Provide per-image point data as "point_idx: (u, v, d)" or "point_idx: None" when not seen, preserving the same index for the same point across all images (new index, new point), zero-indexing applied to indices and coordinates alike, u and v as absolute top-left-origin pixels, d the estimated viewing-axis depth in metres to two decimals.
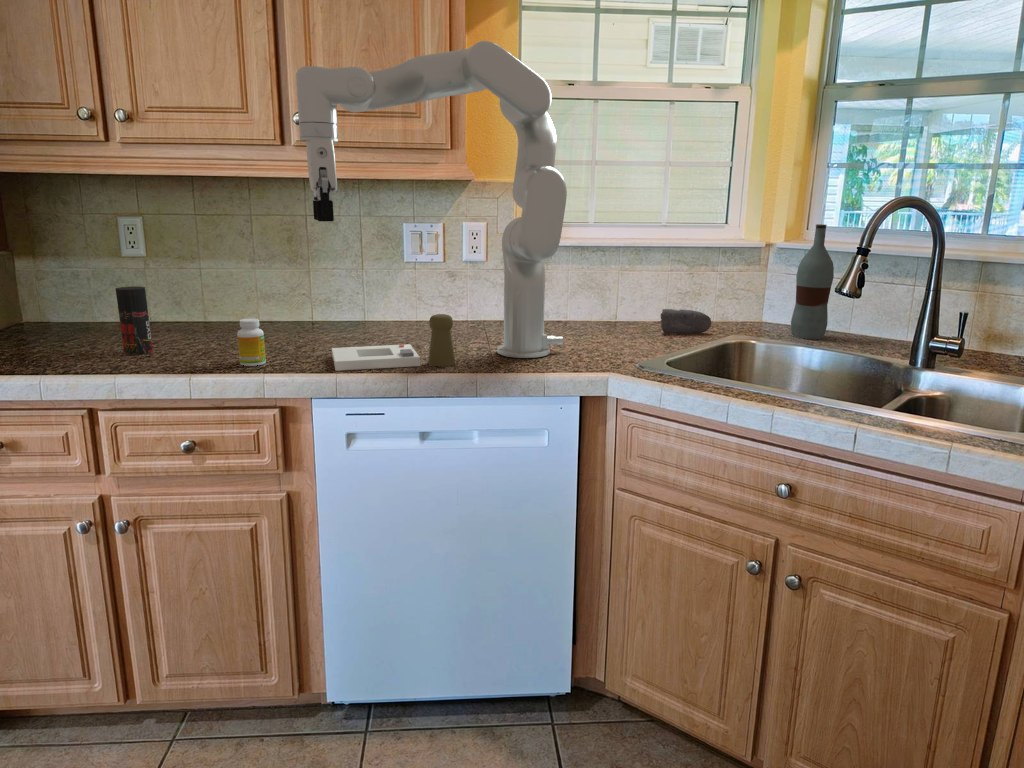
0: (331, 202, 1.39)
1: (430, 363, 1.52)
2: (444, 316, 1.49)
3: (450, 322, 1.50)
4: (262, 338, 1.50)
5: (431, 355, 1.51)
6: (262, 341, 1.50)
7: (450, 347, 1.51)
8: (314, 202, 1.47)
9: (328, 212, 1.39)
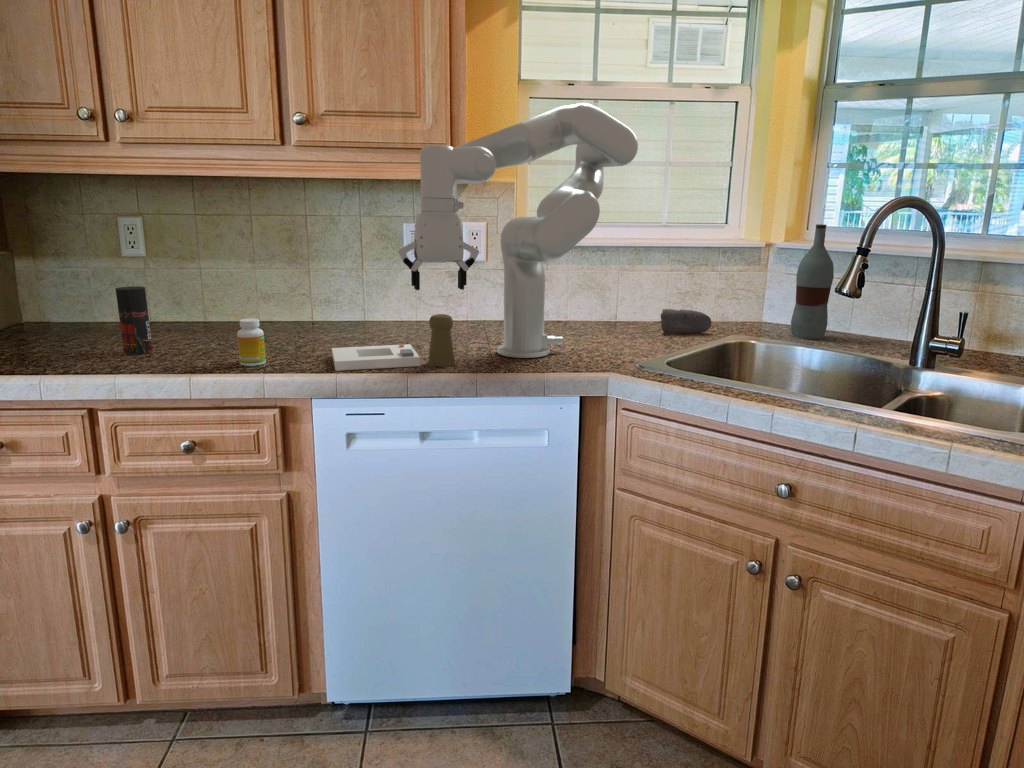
0: None
1: (430, 363, 1.52)
2: (444, 316, 1.49)
3: (450, 322, 1.50)
4: (262, 338, 1.50)
5: (431, 355, 1.51)
6: (262, 341, 1.50)
7: (450, 347, 1.51)
8: (419, 273, 1.46)
9: None
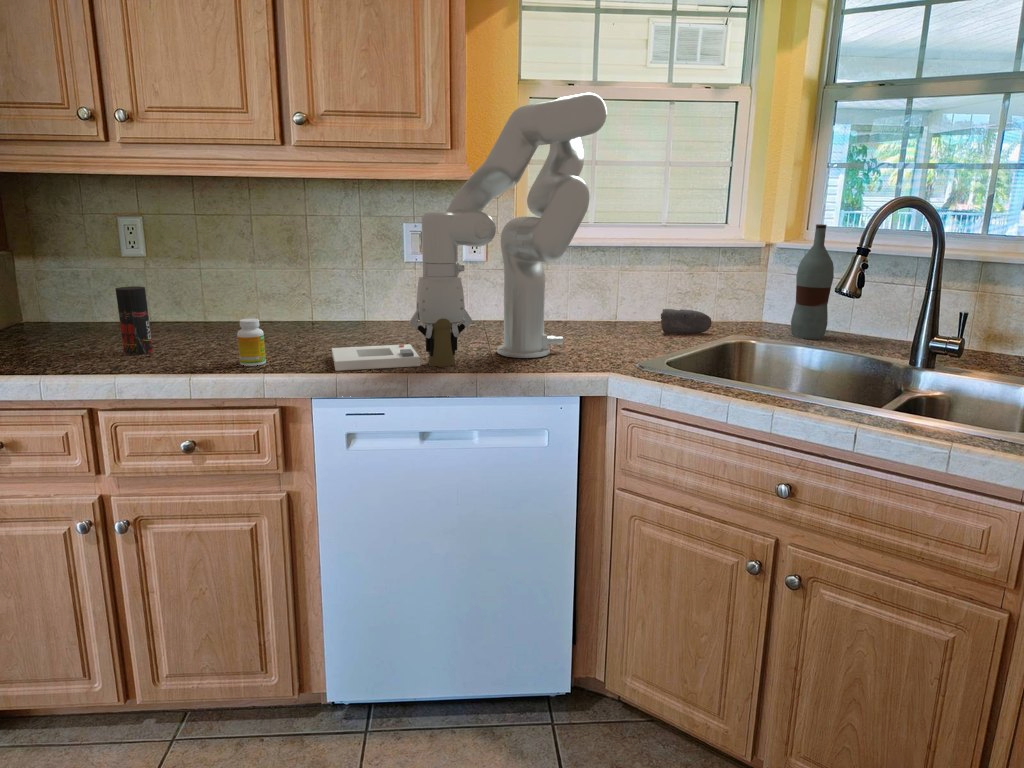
0: None
1: (430, 363, 1.52)
2: None
3: None
4: (262, 338, 1.50)
5: None
6: (262, 341, 1.50)
7: (450, 347, 1.51)
8: (433, 339, 1.50)
9: None
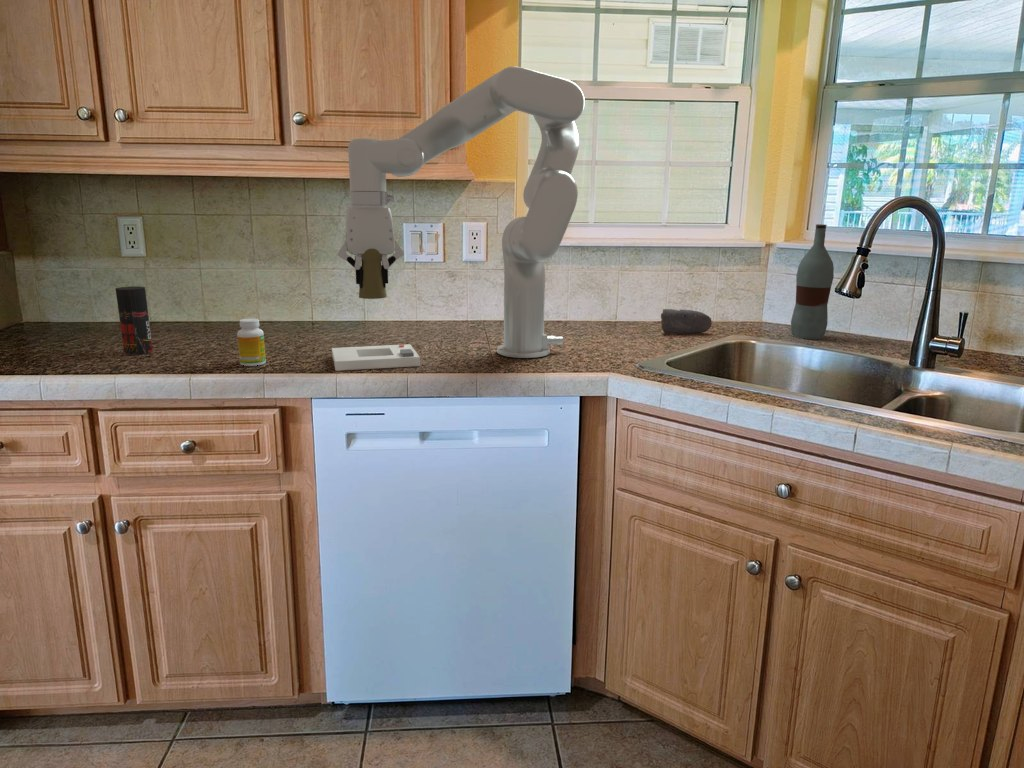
0: None
1: (360, 295, 1.49)
2: None
3: (379, 253, 1.48)
4: (262, 338, 1.50)
5: None
6: (262, 341, 1.50)
7: (380, 279, 1.49)
8: (362, 271, 1.48)
9: None
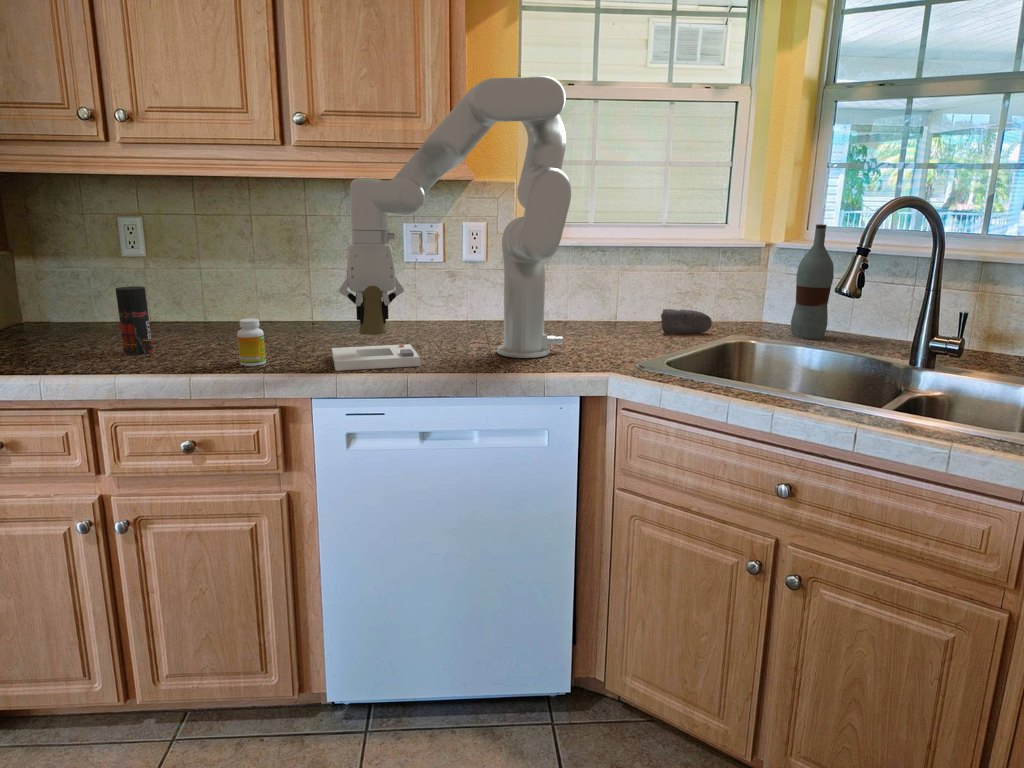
0: None
1: (361, 331, 1.51)
2: None
3: (380, 290, 1.50)
4: (262, 338, 1.50)
5: None
6: (262, 341, 1.50)
7: (381, 315, 1.51)
8: (363, 307, 1.50)
9: None
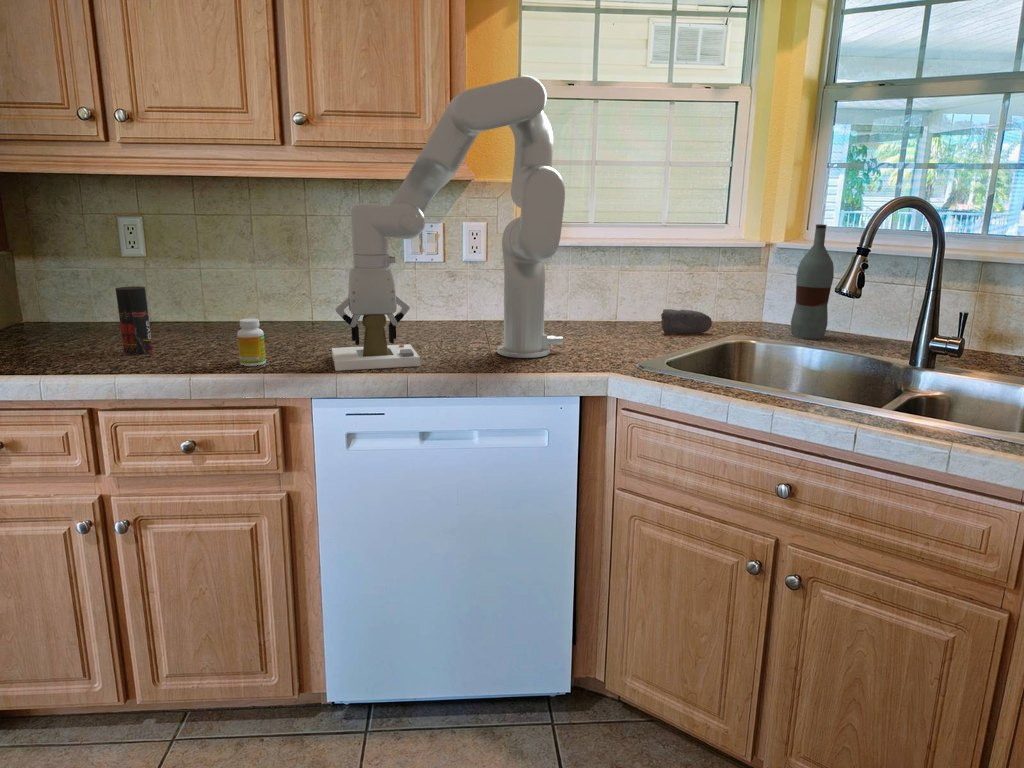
0: None
1: None
2: None
3: (383, 320, 1.51)
4: (262, 338, 1.50)
5: (364, 352, 1.53)
6: (262, 341, 1.50)
7: (384, 345, 1.53)
8: (358, 328, 1.51)
9: None
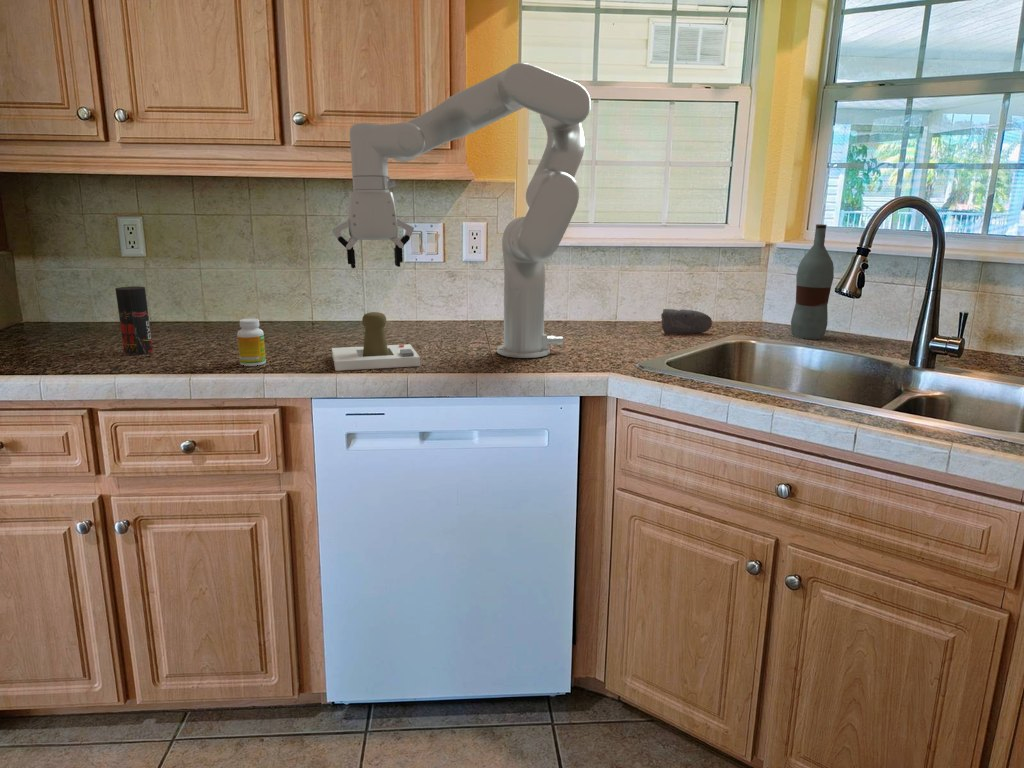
0: None
1: None
2: (377, 314, 1.51)
3: (383, 320, 1.51)
4: (262, 338, 1.50)
5: (364, 352, 1.53)
6: (262, 341, 1.50)
7: (384, 345, 1.53)
8: (354, 251, 1.48)
9: None
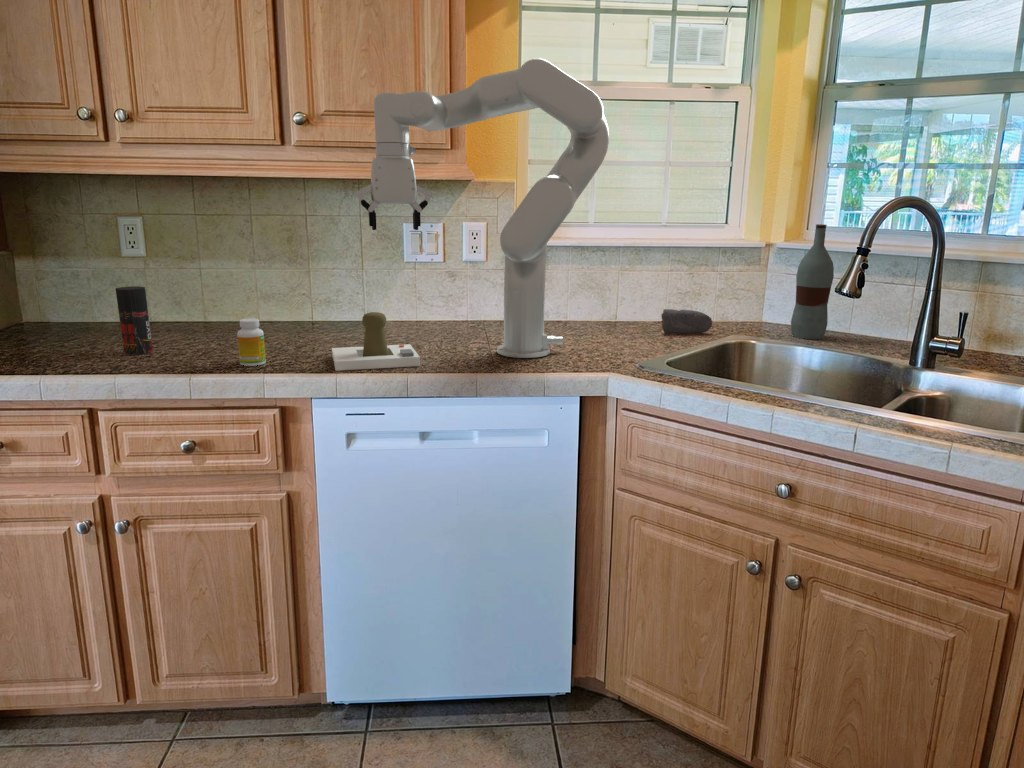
0: None
1: None
2: (377, 314, 1.51)
3: (383, 320, 1.51)
4: (262, 338, 1.50)
5: (364, 352, 1.53)
6: (262, 341, 1.50)
7: (384, 345, 1.53)
8: (375, 213, 1.57)
9: None
